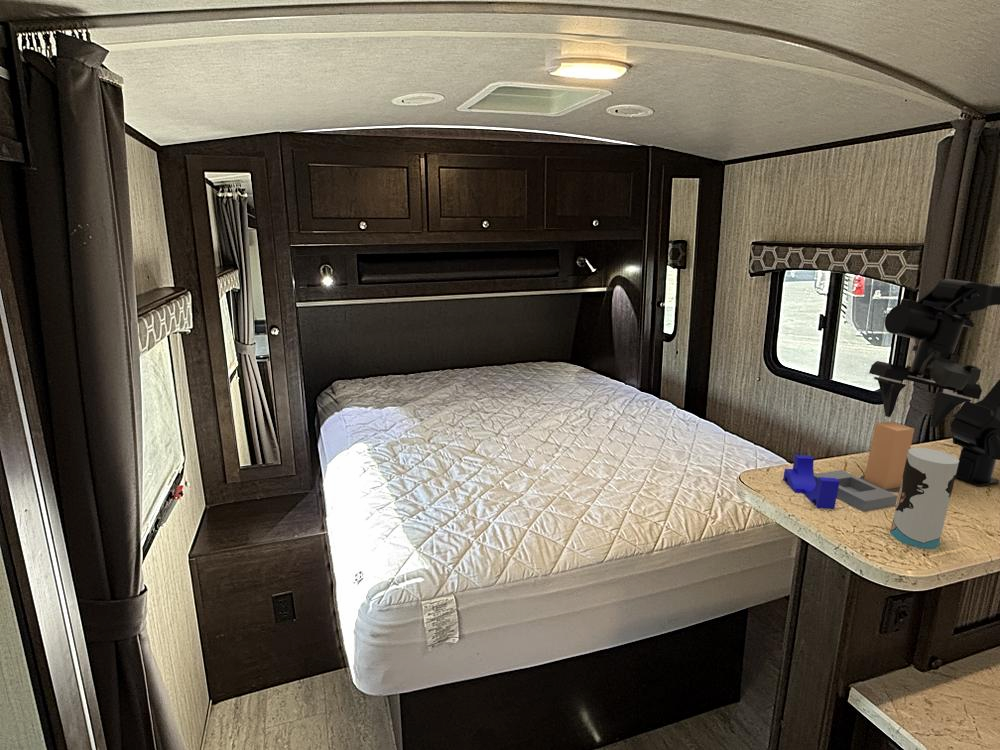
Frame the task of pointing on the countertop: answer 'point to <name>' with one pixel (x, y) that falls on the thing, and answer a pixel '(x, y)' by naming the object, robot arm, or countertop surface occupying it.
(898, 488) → the coaster
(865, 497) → the socket block
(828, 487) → the cable clip
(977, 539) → the countertop surface
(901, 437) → the tan rectangular block
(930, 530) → the cup
